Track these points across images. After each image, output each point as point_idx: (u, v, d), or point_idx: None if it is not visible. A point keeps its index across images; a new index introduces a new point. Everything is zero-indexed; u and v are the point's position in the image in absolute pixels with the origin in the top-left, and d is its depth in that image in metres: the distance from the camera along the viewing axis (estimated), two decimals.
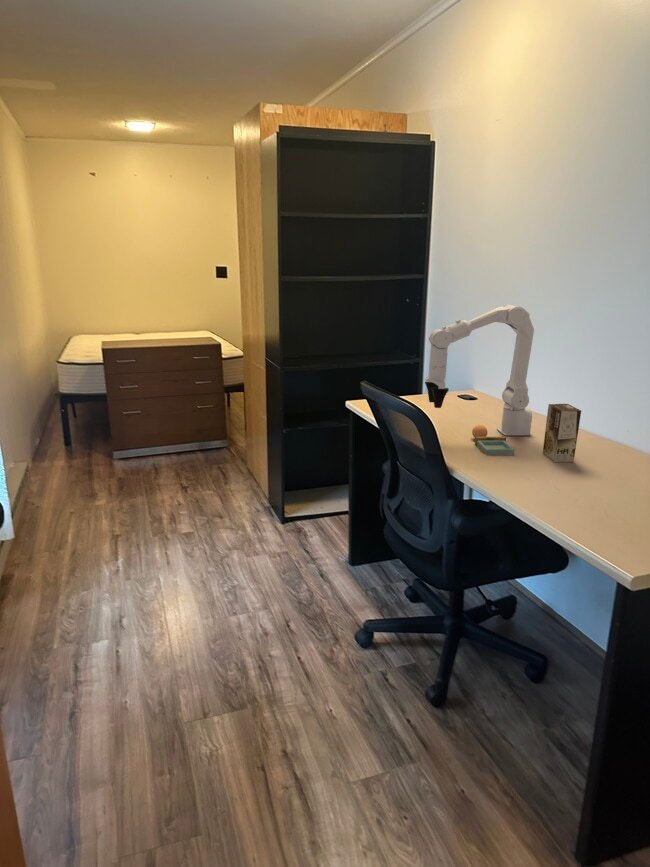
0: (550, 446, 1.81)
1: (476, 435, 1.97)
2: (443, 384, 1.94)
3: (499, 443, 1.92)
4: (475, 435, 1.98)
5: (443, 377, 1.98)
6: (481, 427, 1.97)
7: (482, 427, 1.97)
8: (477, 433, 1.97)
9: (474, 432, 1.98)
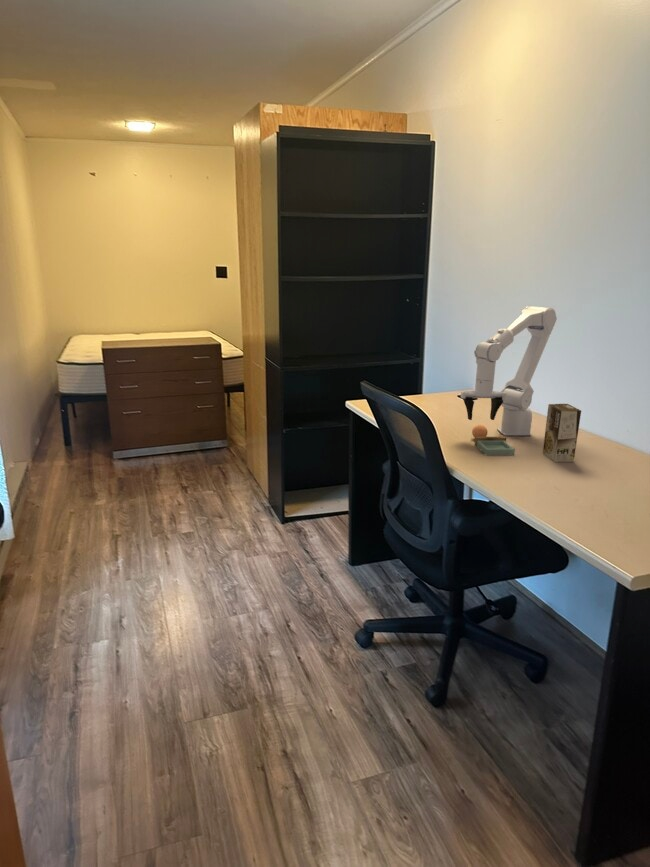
0: (550, 446, 1.81)
1: (476, 435, 1.97)
2: (462, 393, 1.94)
3: (499, 443, 1.92)
4: (475, 435, 1.98)
5: (478, 390, 1.93)
6: (481, 427, 1.97)
7: (482, 427, 1.97)
8: (477, 433, 1.97)
9: (474, 432, 1.98)
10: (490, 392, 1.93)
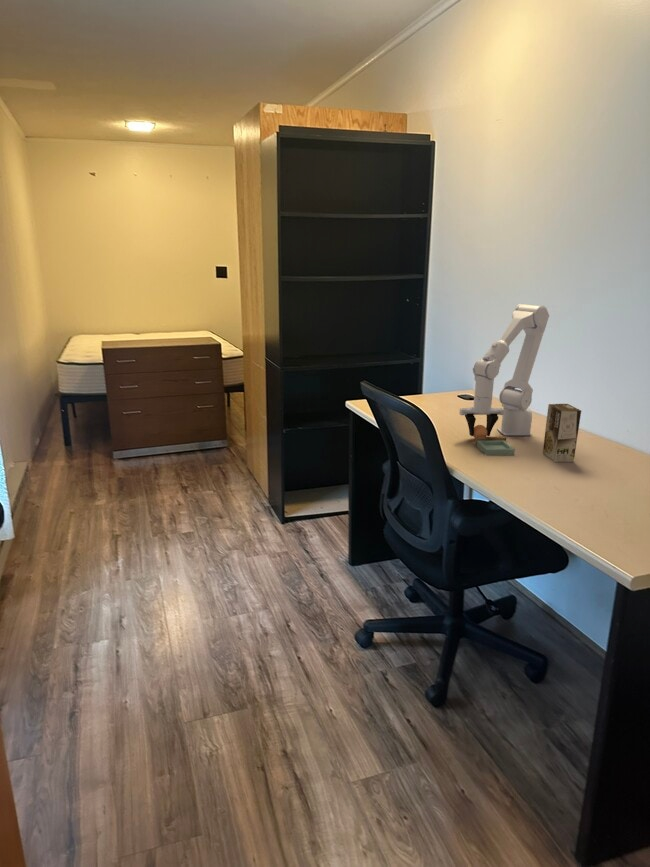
0: (550, 446, 1.81)
1: (476, 435, 1.97)
2: (460, 410, 1.96)
3: (499, 443, 1.92)
4: (475, 435, 1.98)
5: (476, 407, 1.95)
6: (481, 427, 1.97)
7: (482, 427, 1.97)
8: (477, 433, 1.97)
9: (474, 432, 1.98)
10: (488, 409, 1.94)
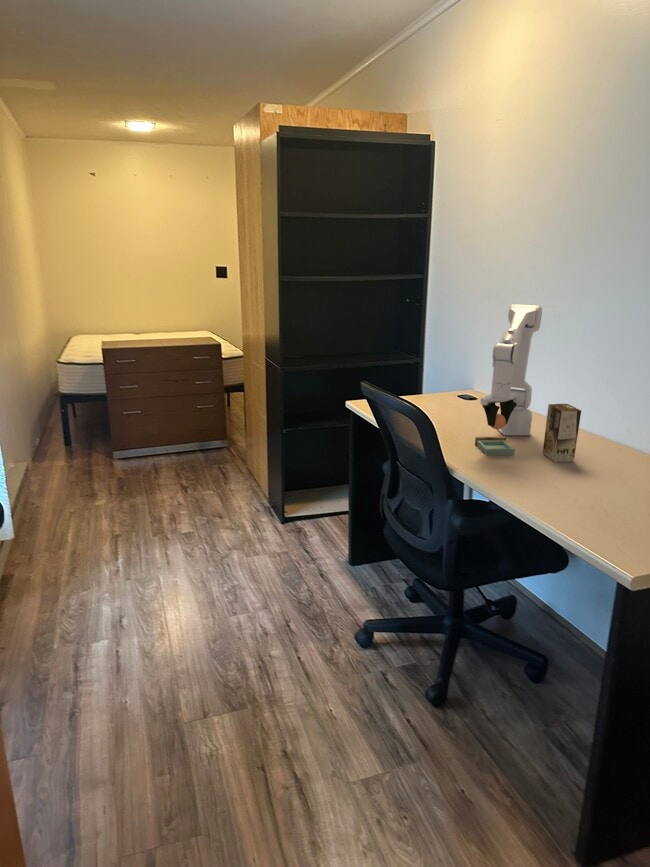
0: (550, 446, 1.81)
1: (497, 425, 1.84)
2: (484, 400, 1.80)
3: (499, 443, 1.92)
4: (496, 425, 1.84)
5: (498, 395, 1.81)
6: (501, 416, 1.85)
7: (501, 416, 1.85)
8: (498, 422, 1.84)
9: None
10: (509, 395, 1.82)
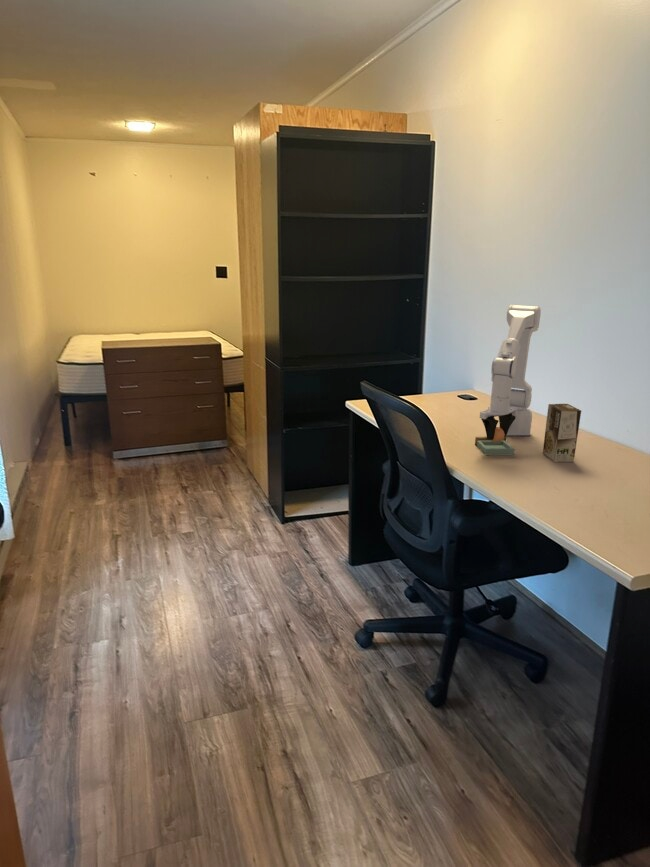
0: (550, 446, 1.81)
1: (496, 438, 1.85)
2: (483, 414, 1.81)
3: (499, 443, 1.92)
4: (495, 438, 1.86)
5: (497, 409, 1.82)
6: (500, 429, 1.86)
7: (500, 429, 1.86)
8: (497, 436, 1.85)
9: None
10: (508, 409, 1.84)
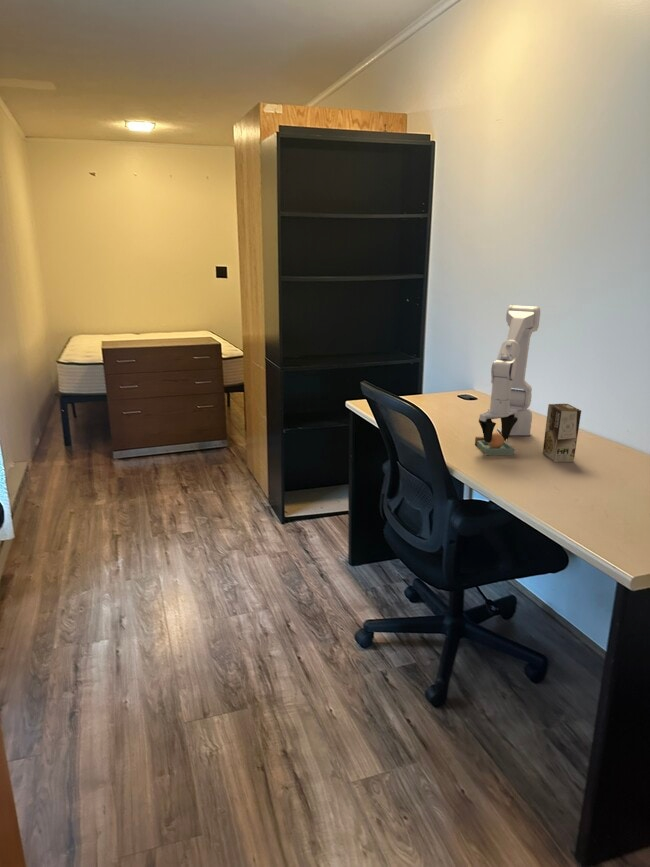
0: (550, 446, 1.81)
1: (495, 444, 1.86)
2: (482, 416, 1.82)
3: None
4: (494, 444, 1.86)
5: (497, 411, 1.83)
6: (499, 435, 1.86)
7: (500, 435, 1.87)
8: (497, 442, 1.86)
9: (493, 441, 1.86)
10: (508, 411, 1.84)
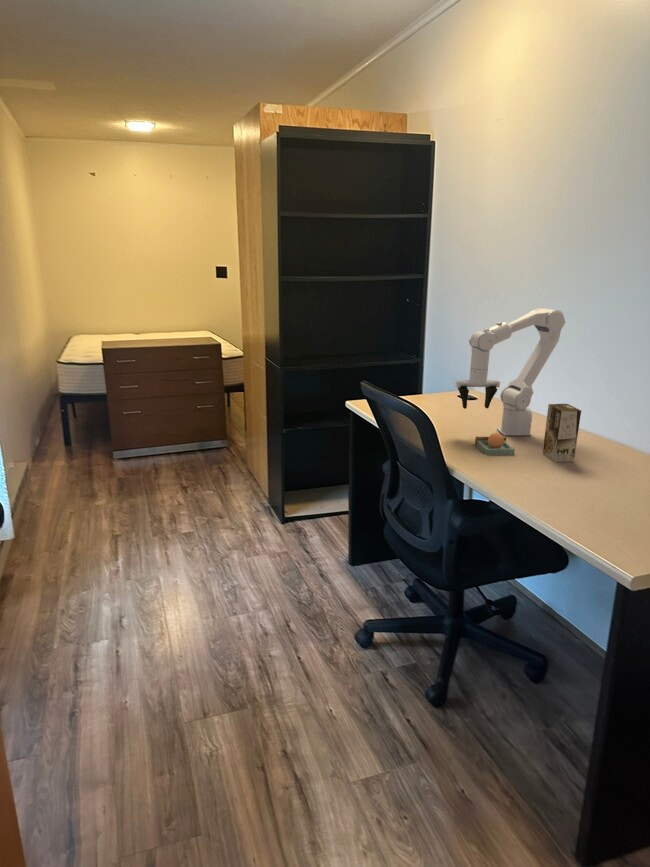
0: (550, 446, 1.81)
1: (495, 444, 1.86)
2: (457, 382, 1.97)
3: None
4: (494, 444, 1.86)
5: (472, 379, 1.96)
6: (500, 435, 1.86)
7: (500, 435, 1.87)
8: (497, 442, 1.86)
9: (493, 441, 1.86)
10: (484, 381, 1.96)
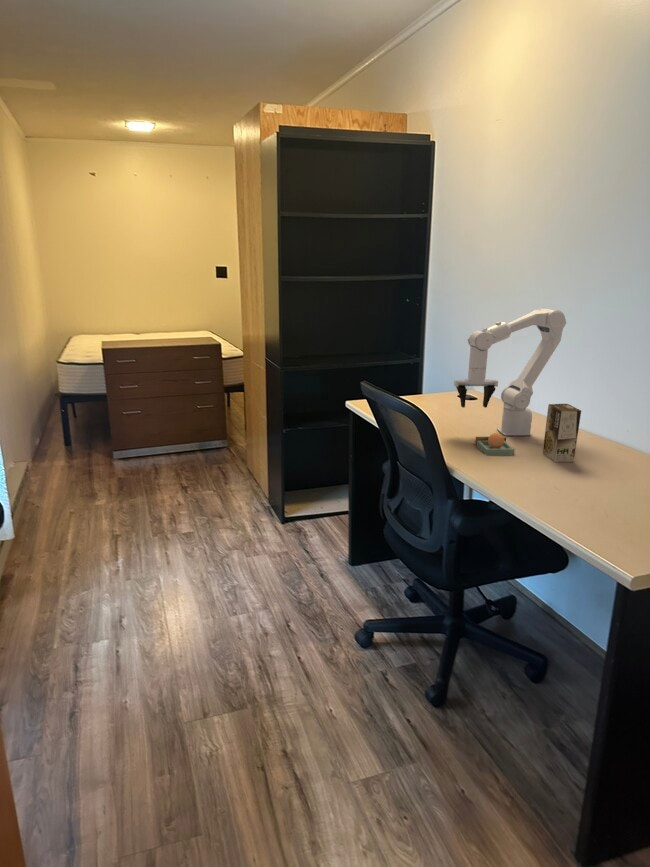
0: (550, 446, 1.81)
1: (495, 444, 1.86)
2: (455, 382, 1.99)
3: None
4: (494, 444, 1.86)
5: (471, 378, 1.97)
6: (500, 435, 1.86)
7: (500, 435, 1.87)
8: (497, 442, 1.86)
9: (493, 441, 1.86)
10: (482, 380, 1.97)
